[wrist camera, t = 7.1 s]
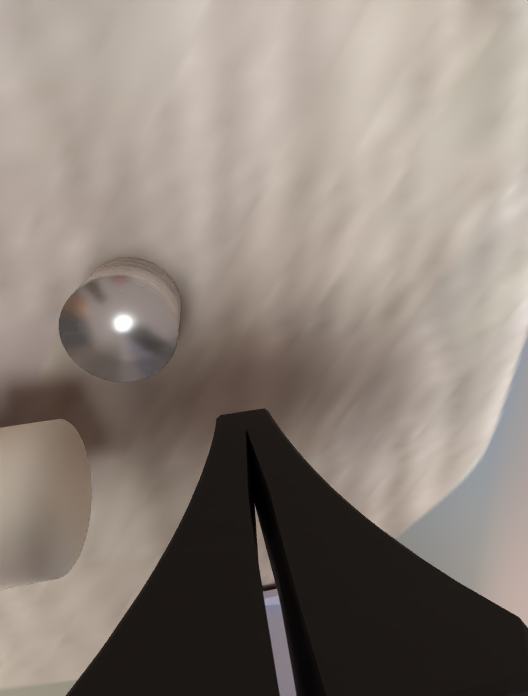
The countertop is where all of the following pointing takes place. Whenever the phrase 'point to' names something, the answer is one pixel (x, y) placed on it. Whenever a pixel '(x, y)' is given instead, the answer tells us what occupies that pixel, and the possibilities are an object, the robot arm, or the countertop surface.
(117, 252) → the countertop surface
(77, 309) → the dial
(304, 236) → the countertop surface
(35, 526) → the cream knob
